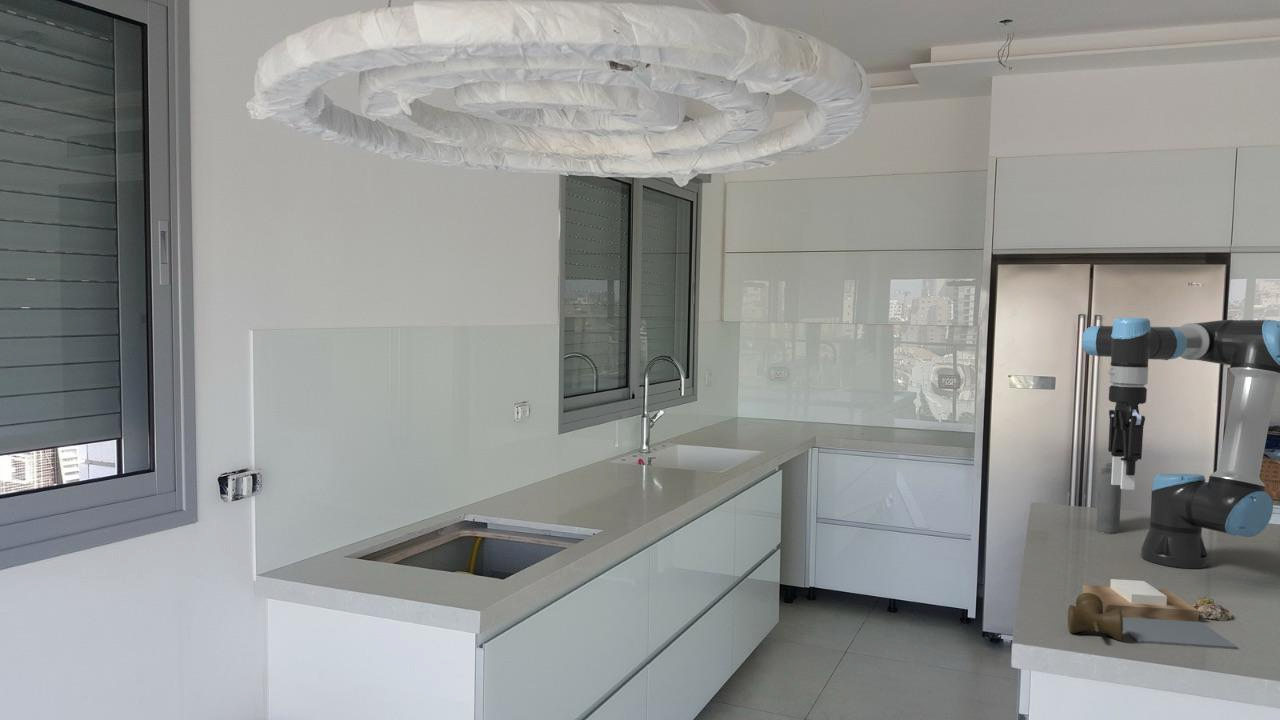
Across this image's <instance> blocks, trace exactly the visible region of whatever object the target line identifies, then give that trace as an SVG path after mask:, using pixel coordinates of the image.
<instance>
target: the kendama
mask: <svg viewBox="0 0 1280 720" xmlns="http://www.w3.org/2000/svg"><path fill="white" fill-rule="evenodd" d="M1082 593H1083V592H1082ZM1082 593H1081V594H1078V596H1077V598H1076V600H1075V605H1073V604H1070V605H1069V606H1068V608H1067V609H1068V610H1067V630H1068V632H1069V633H1070V634H1076V633H1080V632H1084V631H1095V633H1100V632H1102V633H1105V634H1107V635H1108V636H1110V637H1111V638H1113V639H1115V640H1116V641H1118V640H1120V641H1122V638H1123V633H1124V630H1123V618H1122V613H1121V610H1120V609H1115V610H1113V611H1110V612H1108V613H1103V604H1102V601H1101V599H1100V597H1098V596H1097V595H1095V594H1092V593H1083V594H1082Z"/></svg>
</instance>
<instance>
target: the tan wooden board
mask: <svg viewBox="0 0 1280 720" xmlns="http://www.w3.org/2000/svg"><path fill="white" fill-rule="evenodd" d="M1157 590H1158V591H1160V592H1161V593H1163V594H1164V595H1166V596H1167V603H1166V606H1164V605H1148V604H1132V603H1130V602H1129V601H1127V600H1126V599H1125V598H1123V597H1122V596H1121V595H1119V594H1118V593H1117V592H1115V591H1114V590H1113V589H1111V588H1110V585H1109V586H1105V585H1091V584H1082V593H1081V594H1083V593H1092V594H1095V595H1097V596H1098V597H1100V599H1101V601H1102V604H1103V614H1104V613H1108V612H1110V611H1113V610H1115V609H1120V610H1121V613H1122V617H1130V618H1146V619H1161V620H1177V621H1192V622H1199V617H1200V616H1199V610H1197V609H1196V608H1194V607H1193V606H1192V605H1191V604H1189V603H1188V602H1187V601H1185V600H1183V599H1182V598H1180V597H1179V596H1177V595H1176V594H1175V593H1172V592H1171V591H1170V590H1169V589H1158V588H1157Z"/></svg>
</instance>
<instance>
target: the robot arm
mask: <svg viewBox="0 0 1280 720" xmlns="http://www.w3.org/2000/svg"><path fill="white" fill-rule="evenodd" d="M1081 347H1082V349H1083V352H1084V353H1086V354H1087V355H1089V356H1093V357H1108V358H1109V357H1110V358H1111V359H1110V370H1108V374H1109V382H1110V386H1109V387H1108V401H1110V403H1115V406H1114V407H1115V408H1114V409H1109V411H1108V416H1109V425H1108V426H1109V429H1108V449H1107V450H1108V453H1111V457H1112V460H1111V461H1112V462H1111V463H1112V477H1111V484H1112V485H1121V490H1133V491H1134V490H1135V488H1136V487H1135V486H1136V468H1137V462H1138V460H1142V457H1143V456H1142V454H1143V439H1144V438H1143V437H1144V425H1145V420H1146V416H1145V415H1140V410H1139V405H1141V404H1143V405H1144V404H1146V402H1147V396H1148V395H1147V394H1148V389H1147V388H1146V385H1148V383H1149V382H1148V381H1149V380H1148V379H1149V360H1160V361H1161V360H1162V361H1168V360H1175V359H1177V358H1181V359H1184V360H1188V361H1202V362H1207V363H1213V364H1219V365H1227V366H1229V371H1230V372H1231V374H1232V375H1233V376H1234V383H1233V387H1232V394H1231V398H1230V403H1229V409H1228V414H1227V420H1226V425H1225V431H1224V436H1223V442H1222V445H1221V446H1222V447H1221V451H1220V455H1219V456H1220V457H1219V461H1218V468H1217V470H1216V471H1215V472H1211V474H1209V476H1208V482H1206V480H1207V479H1206V477H1205V476H1204V475H1203V474H1198V473H1163V474H1162V473H1161V474H1158V475H1155V476H1154V478H1153V479H1152V486H1151V497H1150V499H1151V501H1150V503H1151V504H1150V520H1149V521H1150V524H1149V529H1148V530H1149V531H1148V532H1147V535H1146V537H1145V539H1144V541H1143V544H1142V545H1141V549H1140V557H1141V558H1142V559H1143V560H1146V561H1148V562H1151V563H1154V564H1158V565H1163V566H1167V567H1172V568H1181V569H1204V568H1207V567H1208V566H1209V565H1208V564H1209V556H1208V555H1209V554H1208V552H1207V549H1206V546H1205V542H1204V540H1203V535H1202V533H1203V531H1202V529H1206V530H1207V529H1208V530H1211V531H1216V532H1220V533H1224V534H1228V535H1230V536H1237V537H1238V536H1239V537H1245V538H1251V537H1255V536H1258V535H1259V534H1261V532H1262V531H1264V530H1265V529H1266V527H1268V525H1269V523H1270V521H1271V518H1272V516H1273V511H1274V504H1273V500H1272V497H1271V495H1269V494H1268V493H1267V492H1265V488H1266V484H1264V482H1263V481H1262V480H1261V478H1260V475H1261V468H1262V464H1263V459H1264V452H1265V447H1266V442H1267V436H1268V431H1269V426H1270V420H1271V416H1272V415H1271V414H1272V410H1273V404H1274V399H1275V393H1276V389H1277V384H1278V382H1280V320H1272V319H1262V320H1260V319H1256V320H1255V319H1254V320H1253V319H1251V320H1250V319H1248V320H1247V319H1246V320H1245V319H1239V320H1238V319H1221V320H1220V319H1219V320H1213V321H1211V320H1210V321H1204V322H1203V321H1202V322H1190V323H1188V322H1187V323H1185V324H1182V325H1180V326H1152V325H1151V321H1150V319H1149V318H1147V317H1146V318H1144V317H1117V318H1115V319H1114V320H1113V322H1112V325H1101V324H1099V325H1091V326H1089V327H1087V328H1086V329H1085V330H1084V331H1083V333H1082V336H1081ZM1111 384H1112V385H1111Z"/></svg>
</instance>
